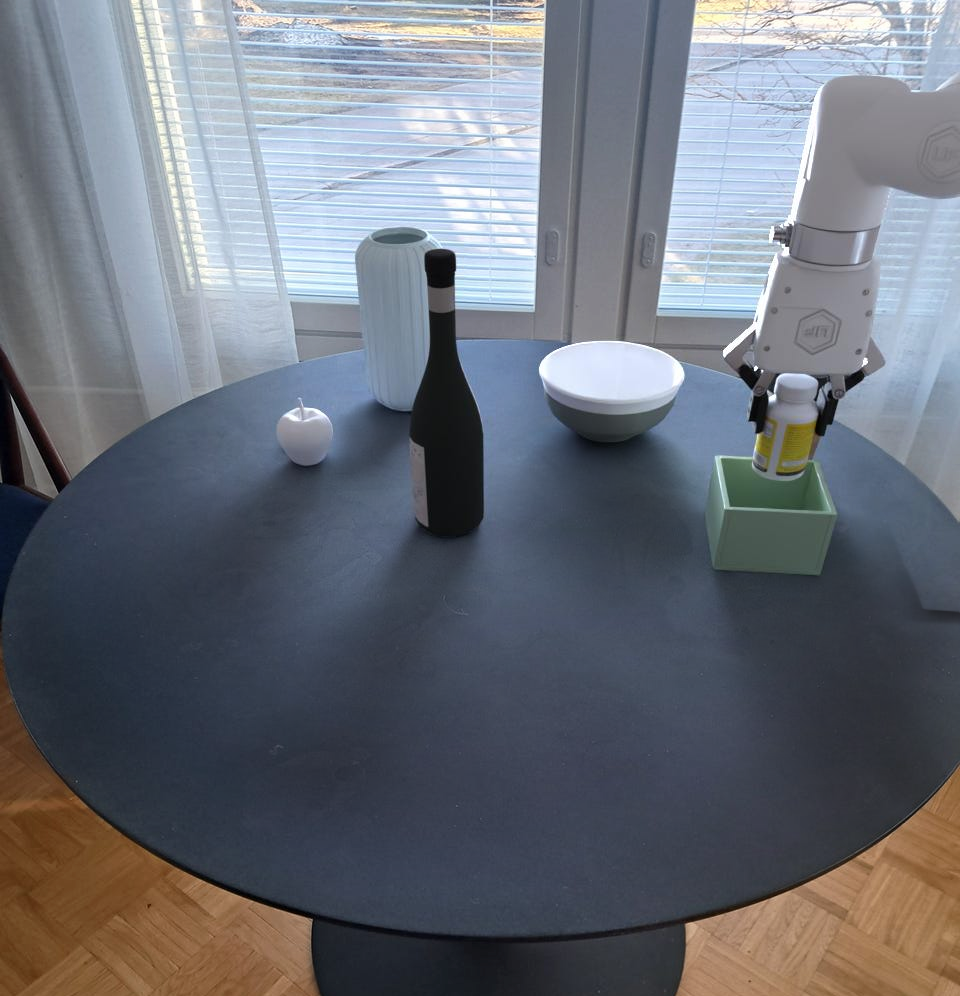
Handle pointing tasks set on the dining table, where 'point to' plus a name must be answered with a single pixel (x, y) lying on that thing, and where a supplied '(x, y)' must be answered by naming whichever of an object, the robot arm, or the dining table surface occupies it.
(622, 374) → the bowl
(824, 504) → the bin
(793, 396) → the supplement bottle
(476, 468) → the wine bottle
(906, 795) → the dining table surface
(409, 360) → the vase
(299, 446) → the plain white apple
